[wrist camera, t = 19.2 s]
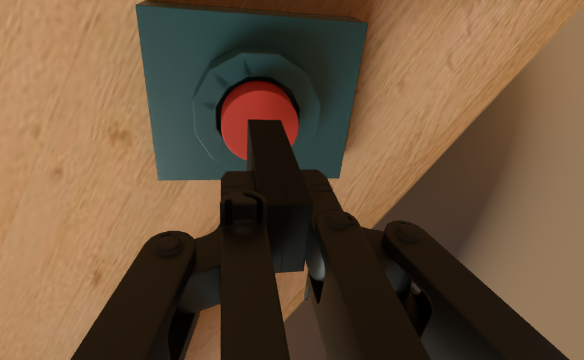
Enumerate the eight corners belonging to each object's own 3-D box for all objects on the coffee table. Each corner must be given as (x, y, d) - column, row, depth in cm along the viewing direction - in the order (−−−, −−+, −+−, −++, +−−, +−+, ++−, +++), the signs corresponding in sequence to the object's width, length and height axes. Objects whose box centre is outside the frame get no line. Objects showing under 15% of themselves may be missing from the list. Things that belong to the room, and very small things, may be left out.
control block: (355, 17, 21) (381, 28, 17) (331, 163, 26) (347, 192, 23) (143, 0, 18) (126, 8, 15) (163, 163, 24) (153, 196, 20)
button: (296, 81, 19) (302, 91, 17) (289, 148, 21) (295, 162, 19) (220, 78, 18) (220, 88, 16) (221, 148, 20) (221, 162, 18)
